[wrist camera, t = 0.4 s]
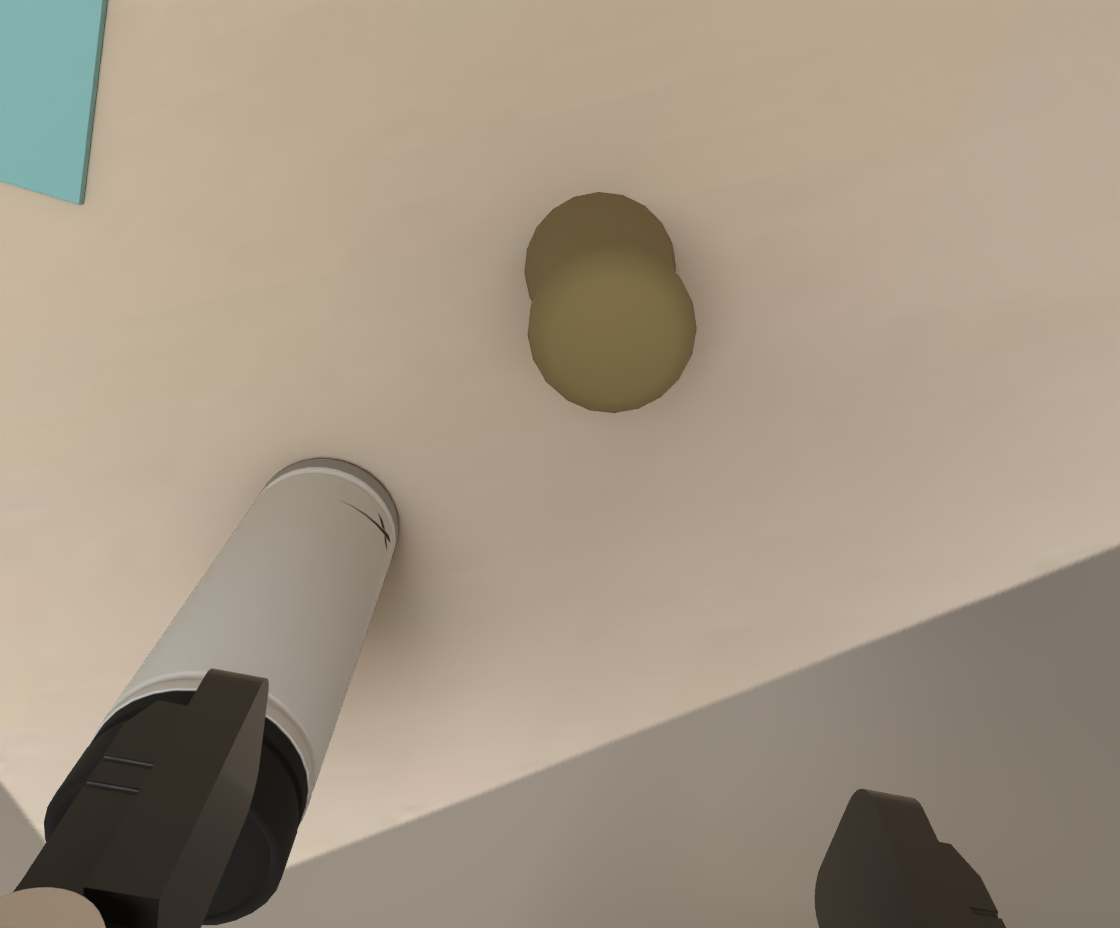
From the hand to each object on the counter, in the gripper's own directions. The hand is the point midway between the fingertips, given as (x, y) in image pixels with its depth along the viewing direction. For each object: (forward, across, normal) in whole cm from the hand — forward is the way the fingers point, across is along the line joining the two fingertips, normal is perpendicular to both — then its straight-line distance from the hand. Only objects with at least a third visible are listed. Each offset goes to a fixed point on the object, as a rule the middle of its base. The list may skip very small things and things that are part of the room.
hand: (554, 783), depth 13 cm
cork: (+28, -1, -1) cm, 28 cm away
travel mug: (+28, +8, +12) cm, 32 cm away
